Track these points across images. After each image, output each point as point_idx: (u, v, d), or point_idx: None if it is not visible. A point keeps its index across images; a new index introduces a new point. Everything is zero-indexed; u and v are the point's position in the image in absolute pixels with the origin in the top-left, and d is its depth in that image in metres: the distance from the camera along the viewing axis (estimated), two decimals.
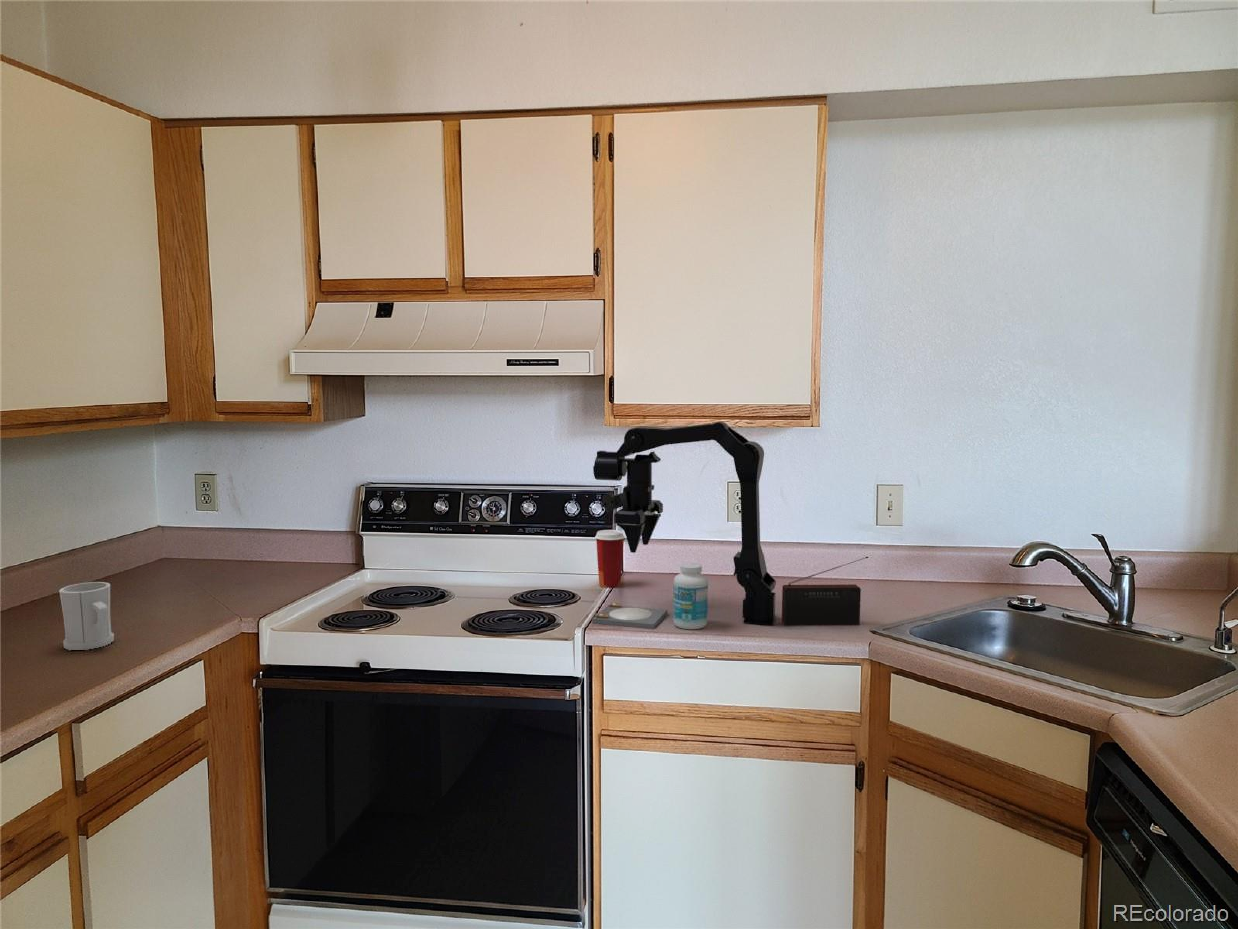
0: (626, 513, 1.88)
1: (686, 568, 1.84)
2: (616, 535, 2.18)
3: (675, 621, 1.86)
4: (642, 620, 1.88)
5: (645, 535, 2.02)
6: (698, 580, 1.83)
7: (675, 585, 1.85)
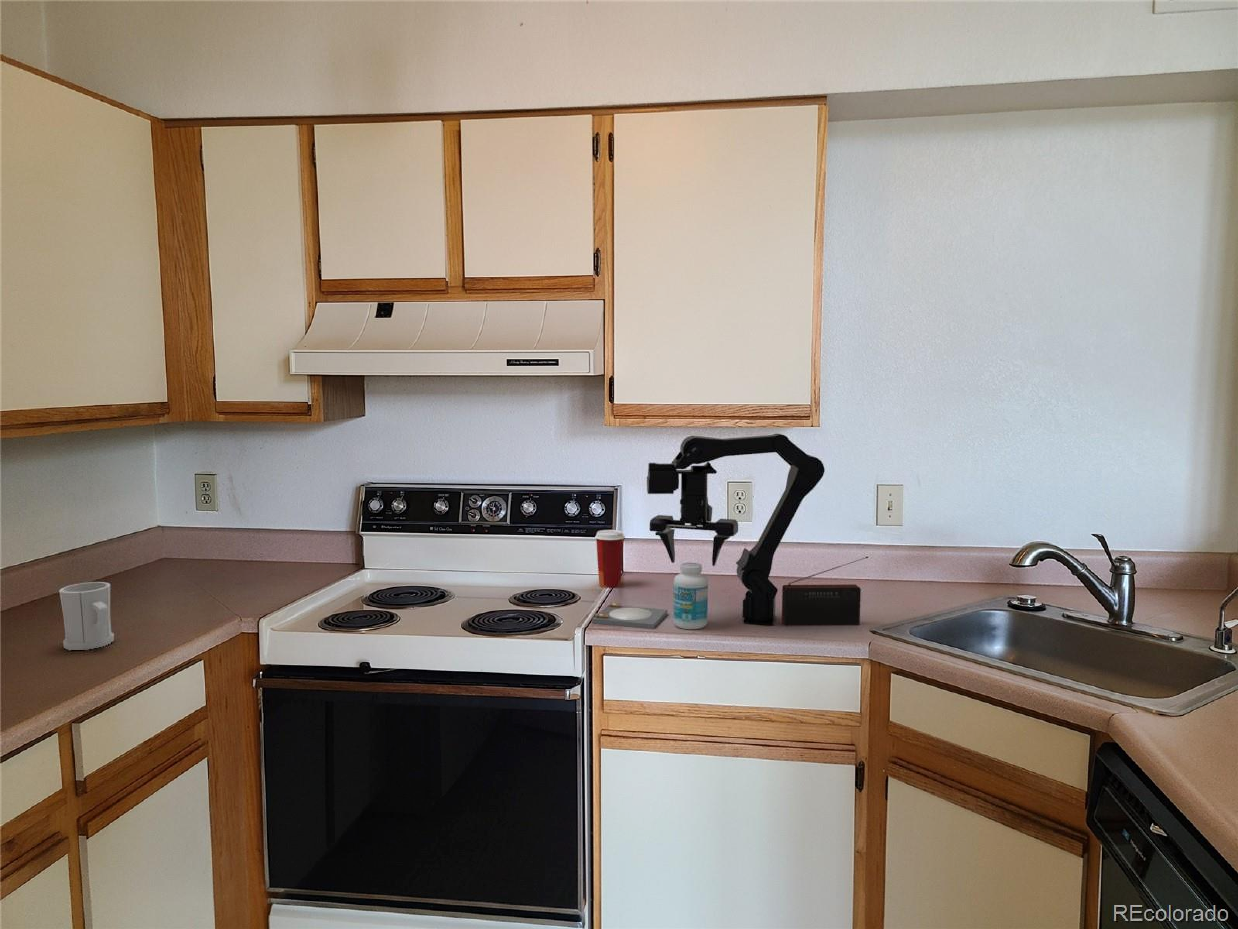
0: None
1: (686, 568, 1.84)
2: (616, 535, 2.18)
3: (675, 621, 1.86)
4: (642, 620, 1.88)
5: None
6: (698, 580, 1.83)
7: (675, 585, 1.85)
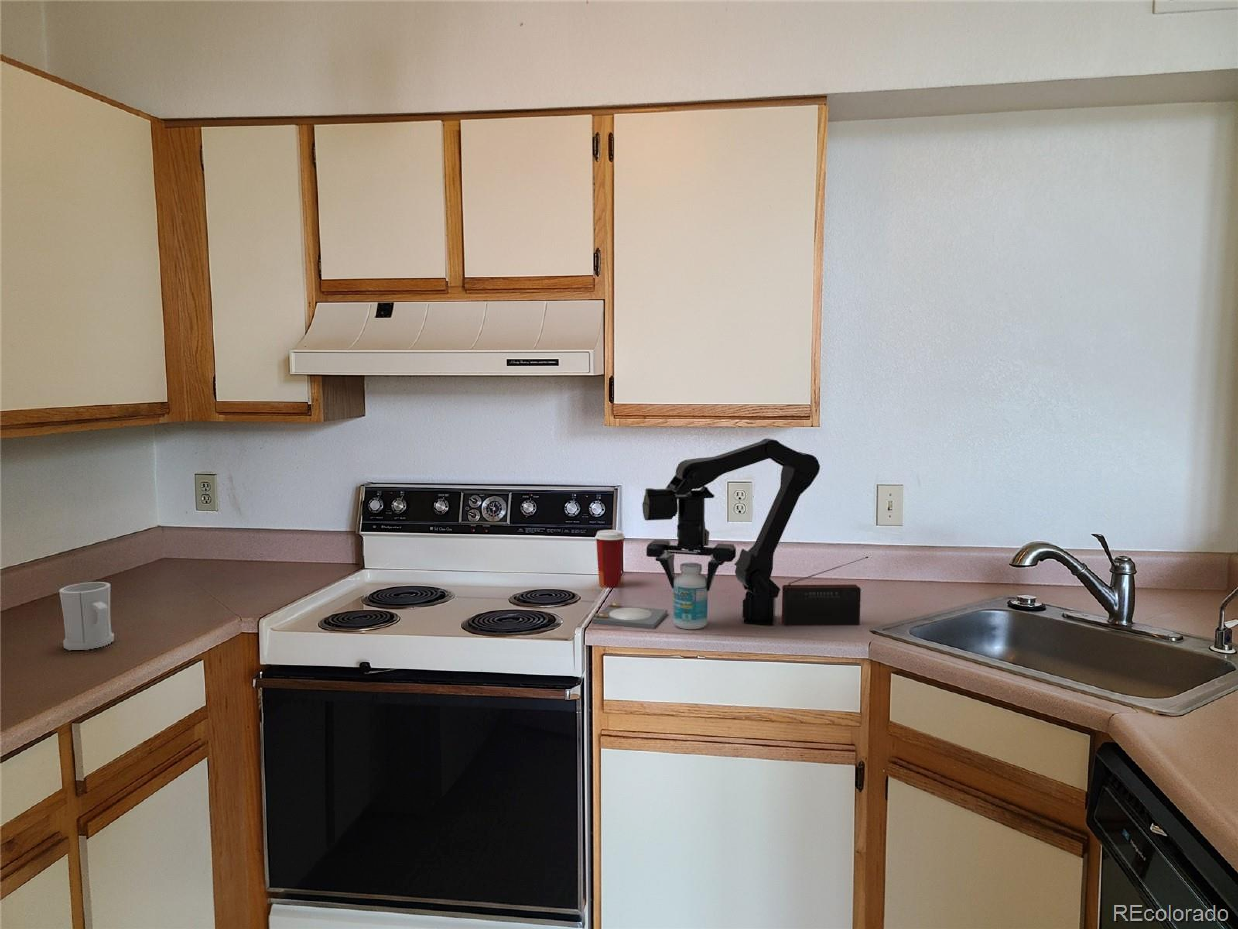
0: None
1: (686, 568, 1.84)
2: (616, 535, 2.18)
3: (675, 621, 1.86)
4: (642, 620, 1.88)
5: None
6: (698, 580, 1.83)
7: (675, 585, 1.85)
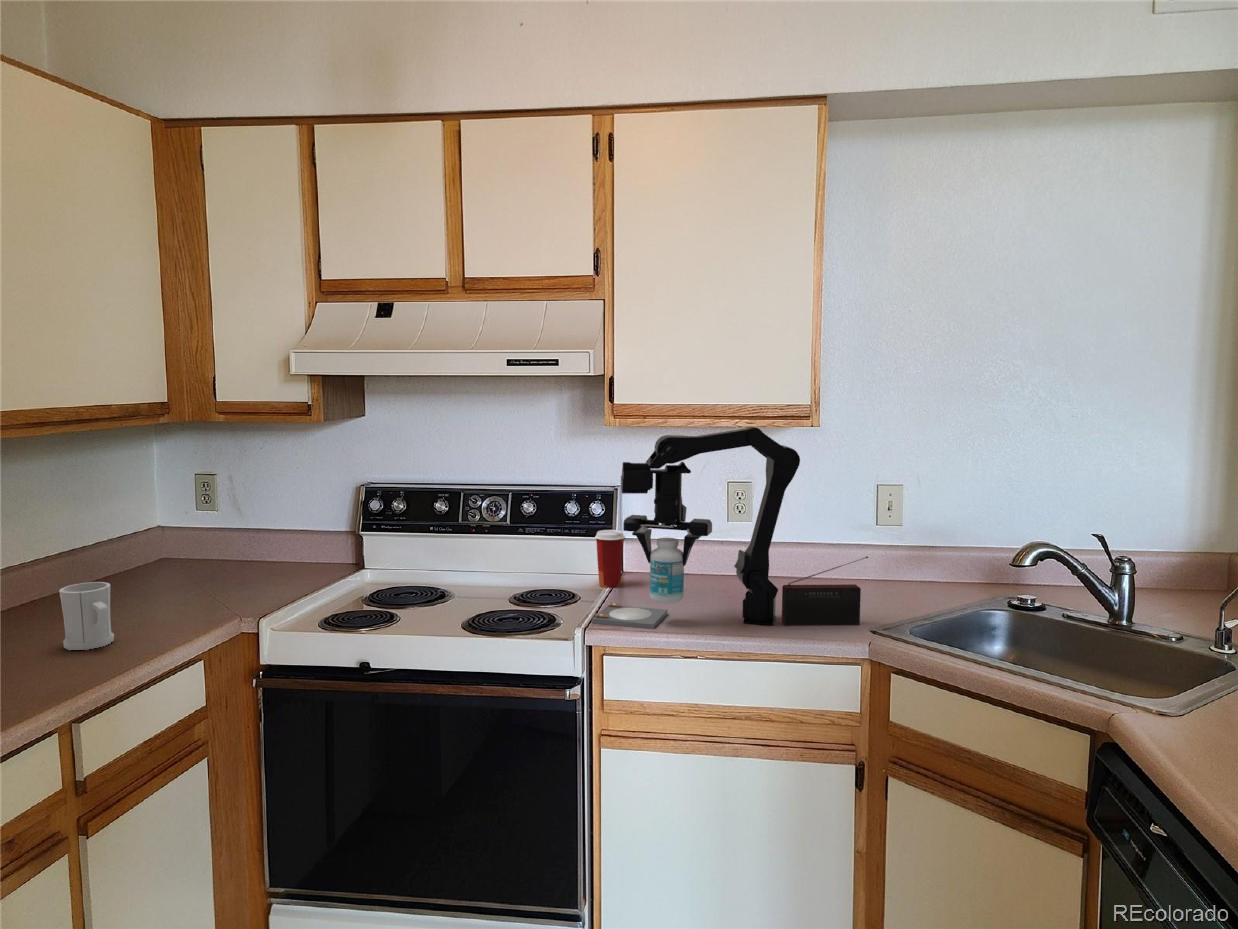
0: None
1: (662, 542, 1.85)
2: (616, 535, 2.18)
3: (651, 595, 1.87)
4: (642, 620, 1.88)
5: None
6: (674, 554, 1.84)
7: (652, 559, 1.86)
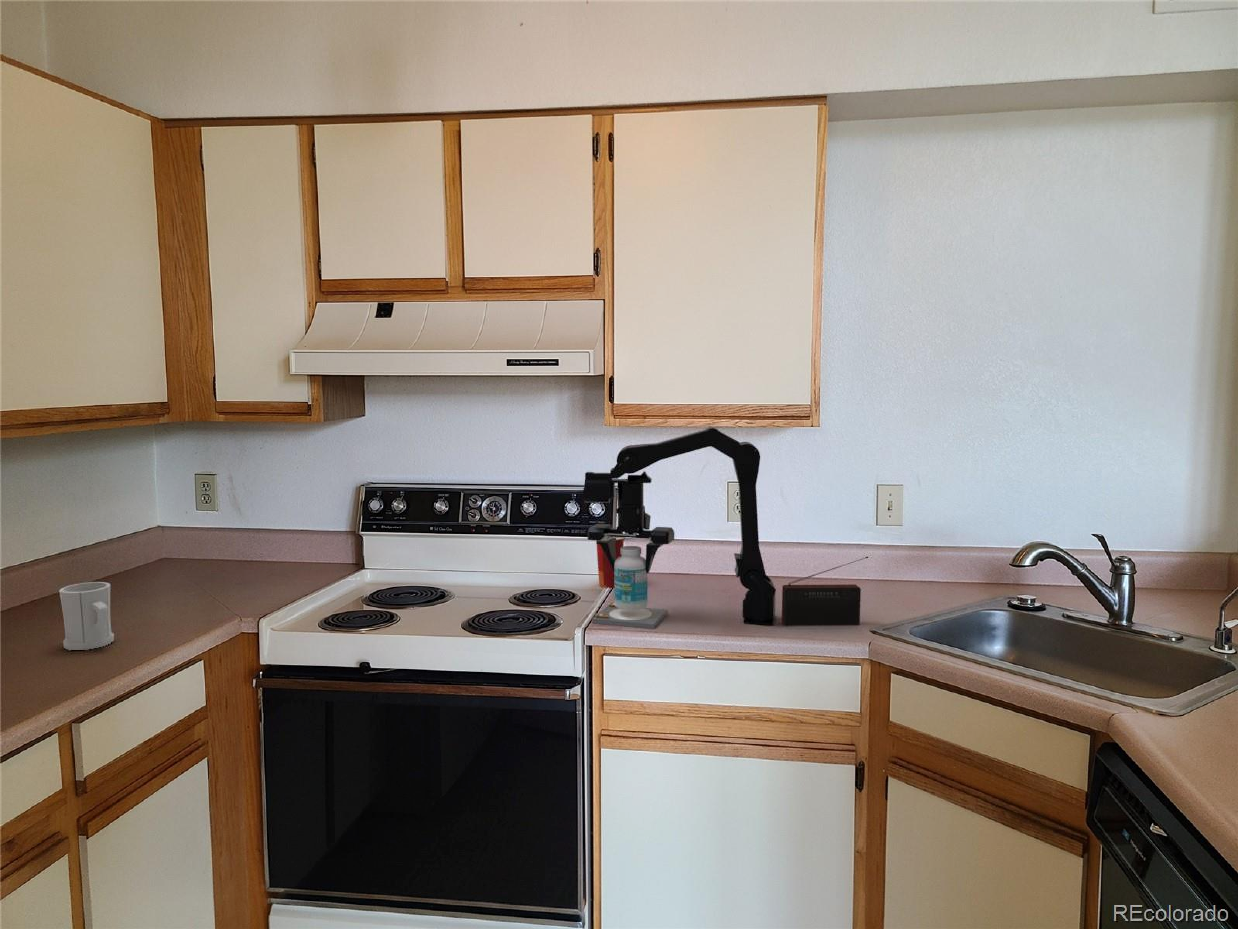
0: None
1: (625, 551, 1.89)
2: None
3: (616, 603, 1.91)
4: (642, 620, 1.88)
5: None
6: (637, 562, 1.88)
7: (615, 567, 1.90)
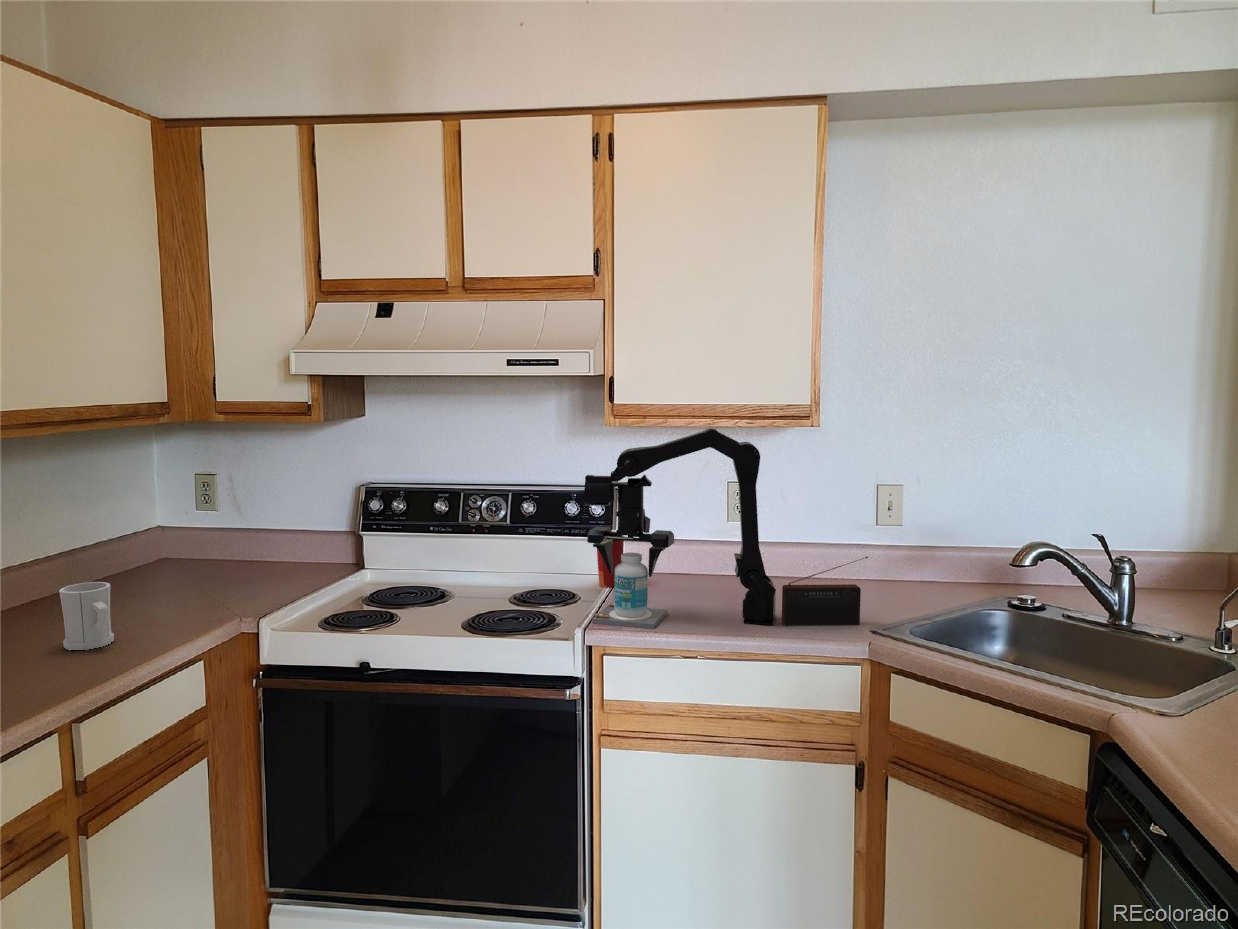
0: None
1: (626, 558, 1.89)
2: None
3: (615, 609, 1.91)
4: (642, 620, 1.88)
5: None
6: (637, 569, 1.88)
7: (616, 574, 1.90)
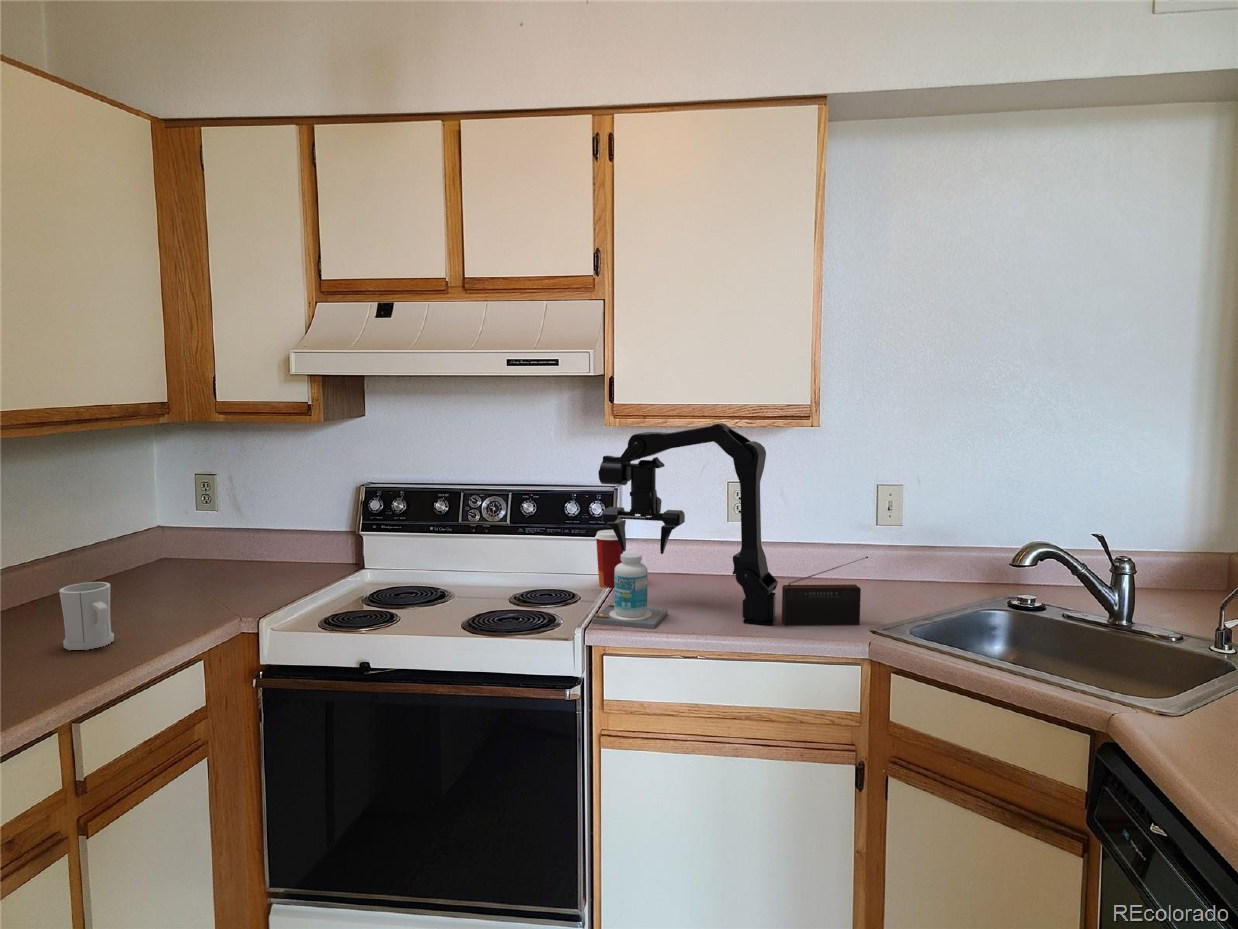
0: None
1: (626, 558, 1.89)
2: None
3: (615, 609, 1.91)
4: (642, 620, 1.88)
5: None
6: (637, 569, 1.88)
7: (615, 574, 1.90)
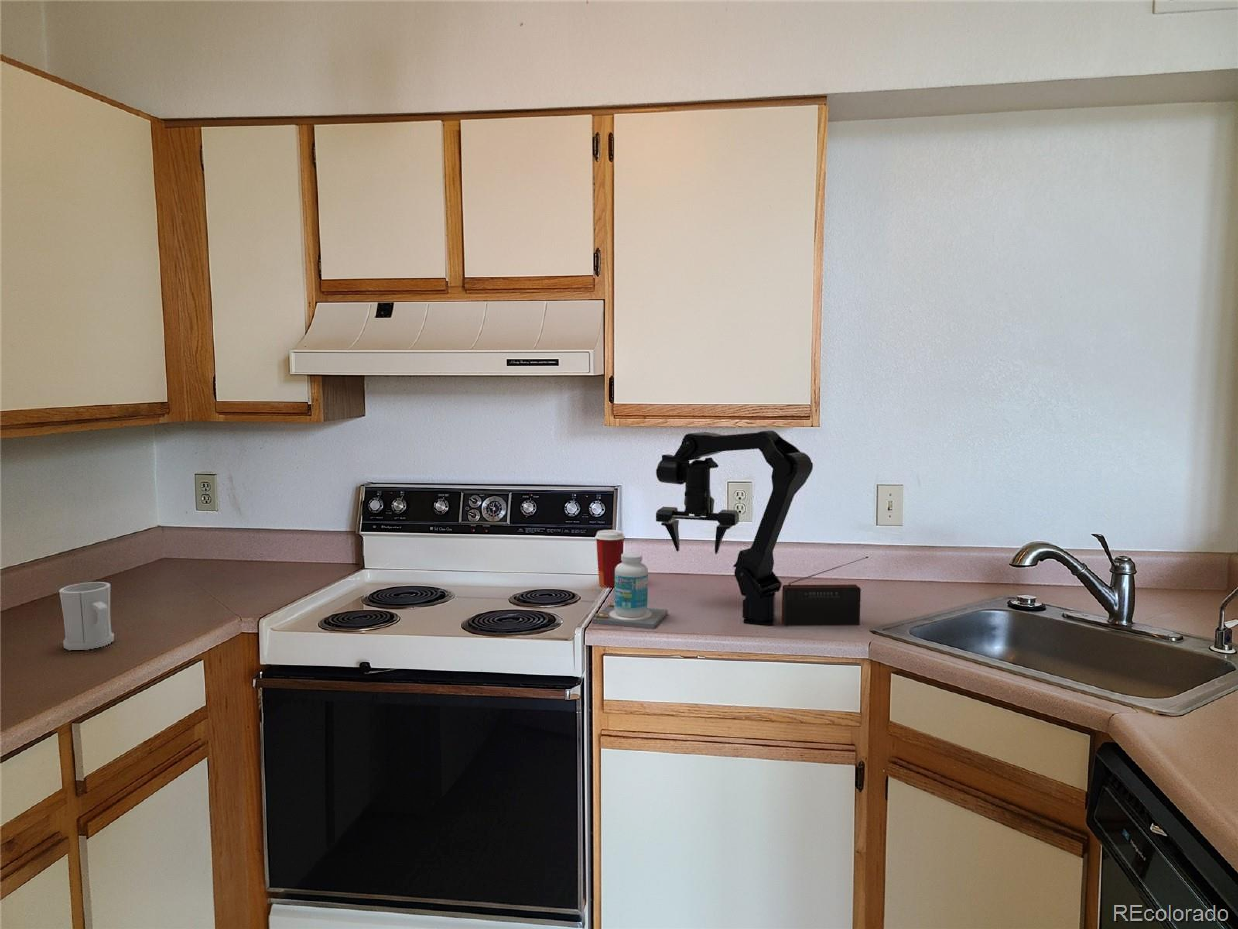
0: (659, 509, 2.03)
1: (626, 557, 1.89)
2: (616, 535, 2.18)
3: (616, 609, 1.91)
4: (642, 620, 1.88)
5: None
6: (637, 569, 1.88)
7: (616, 574, 1.90)
